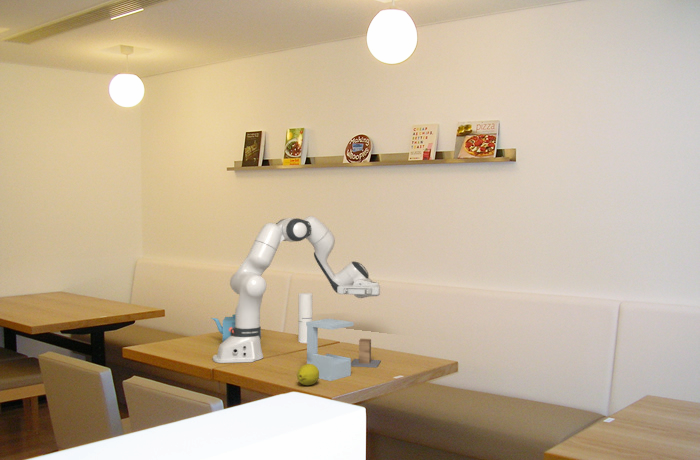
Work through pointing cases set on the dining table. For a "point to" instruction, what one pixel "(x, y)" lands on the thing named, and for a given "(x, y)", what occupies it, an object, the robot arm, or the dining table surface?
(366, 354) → the walnut block
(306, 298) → the cylindrical container
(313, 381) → the lemon
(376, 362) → the felt mat
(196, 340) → the dining table surface
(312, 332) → the grey cantilever stand
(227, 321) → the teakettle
